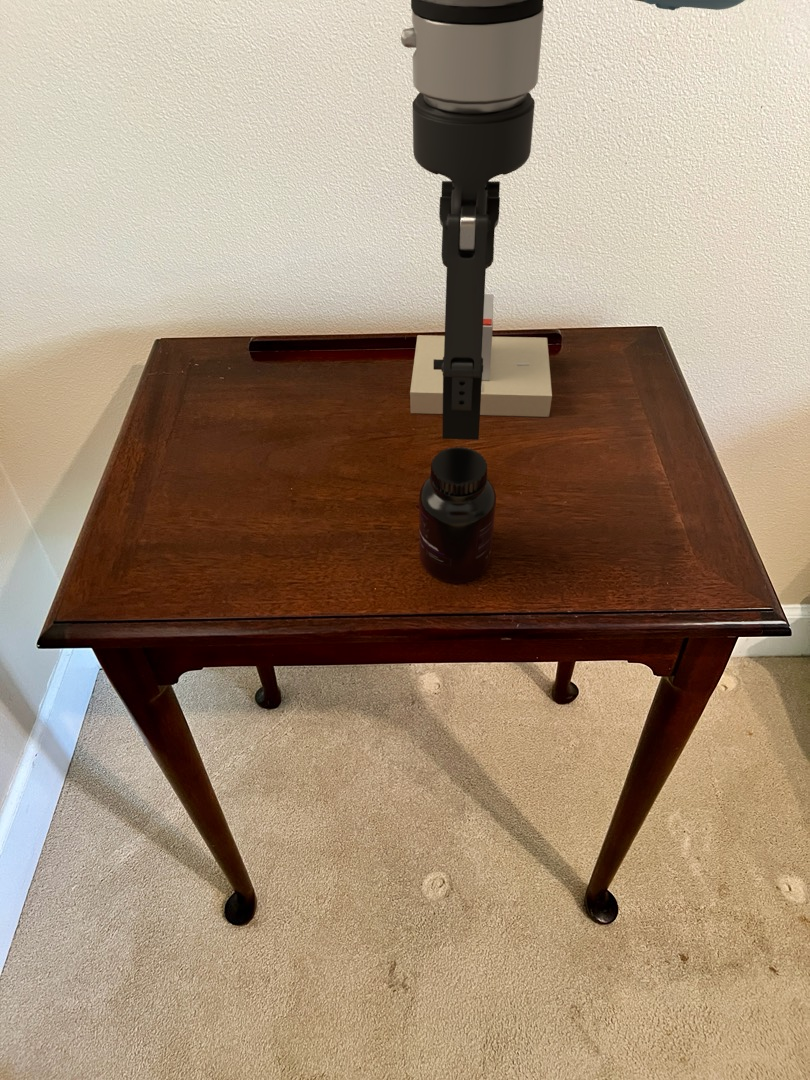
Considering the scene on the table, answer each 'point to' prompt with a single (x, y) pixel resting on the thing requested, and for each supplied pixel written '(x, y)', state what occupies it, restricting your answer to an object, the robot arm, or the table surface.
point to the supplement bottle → (456, 516)
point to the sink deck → (512, 382)
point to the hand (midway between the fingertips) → (463, 383)
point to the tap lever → (487, 335)
